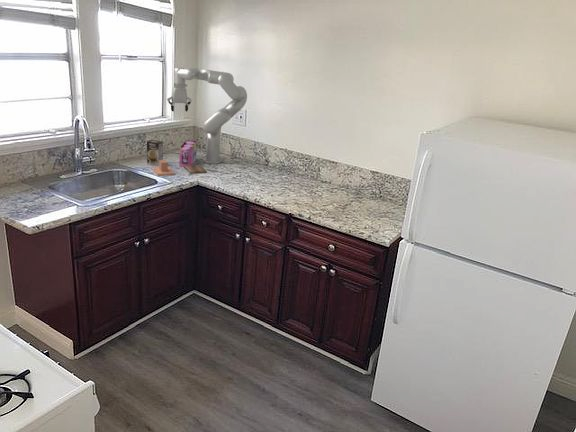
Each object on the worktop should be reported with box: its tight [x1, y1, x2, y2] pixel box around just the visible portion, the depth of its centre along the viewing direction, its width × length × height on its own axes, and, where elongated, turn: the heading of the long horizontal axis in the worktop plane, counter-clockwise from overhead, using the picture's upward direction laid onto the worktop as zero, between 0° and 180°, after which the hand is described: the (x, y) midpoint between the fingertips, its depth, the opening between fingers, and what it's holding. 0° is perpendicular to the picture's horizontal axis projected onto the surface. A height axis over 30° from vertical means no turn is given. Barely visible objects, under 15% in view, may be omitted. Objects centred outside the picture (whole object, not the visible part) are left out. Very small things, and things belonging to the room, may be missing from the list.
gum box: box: [178, 139, 198, 168], centre depth 325 cm, size 24×8×14 cm, turn 0°
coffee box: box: [146, 139, 164, 167], centre depth 314 cm, size 9×6×16 cm
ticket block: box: [183, 164, 207, 175], centre depth 312 cm, size 11×14×2 cm
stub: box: [151, 159, 176, 177], centre depth 301 cm, size 11×14×7 cm
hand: (179, 111), depth 326 cm, fingers open, 9 cm apart
